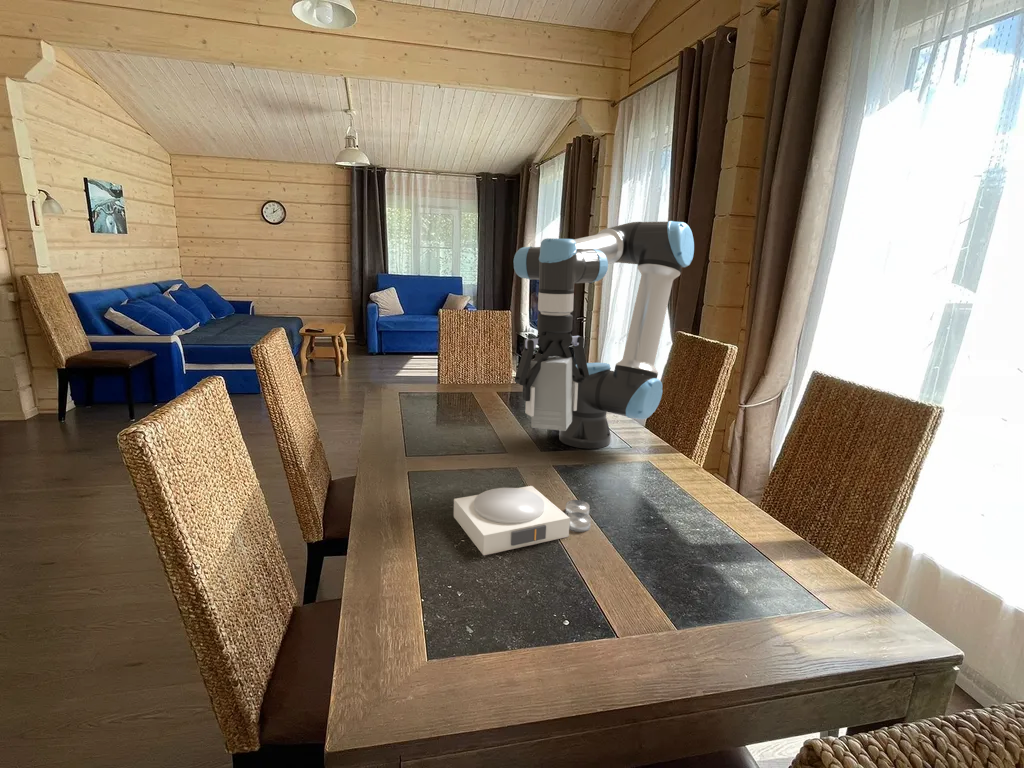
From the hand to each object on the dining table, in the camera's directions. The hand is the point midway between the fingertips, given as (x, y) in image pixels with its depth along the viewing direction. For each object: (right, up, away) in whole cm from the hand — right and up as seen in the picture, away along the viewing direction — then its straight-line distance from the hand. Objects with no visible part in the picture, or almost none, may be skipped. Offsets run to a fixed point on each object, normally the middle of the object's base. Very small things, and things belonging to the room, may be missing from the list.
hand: (551, 411), depth 122 cm
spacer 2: (+5, -23, -11) cm, 26 cm away
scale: (-9, -22, -13) cm, 27 cm away
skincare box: (0, -4, +1) cm, 4 cm away
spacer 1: (+5, -21, -6) cm, 23 cm away
